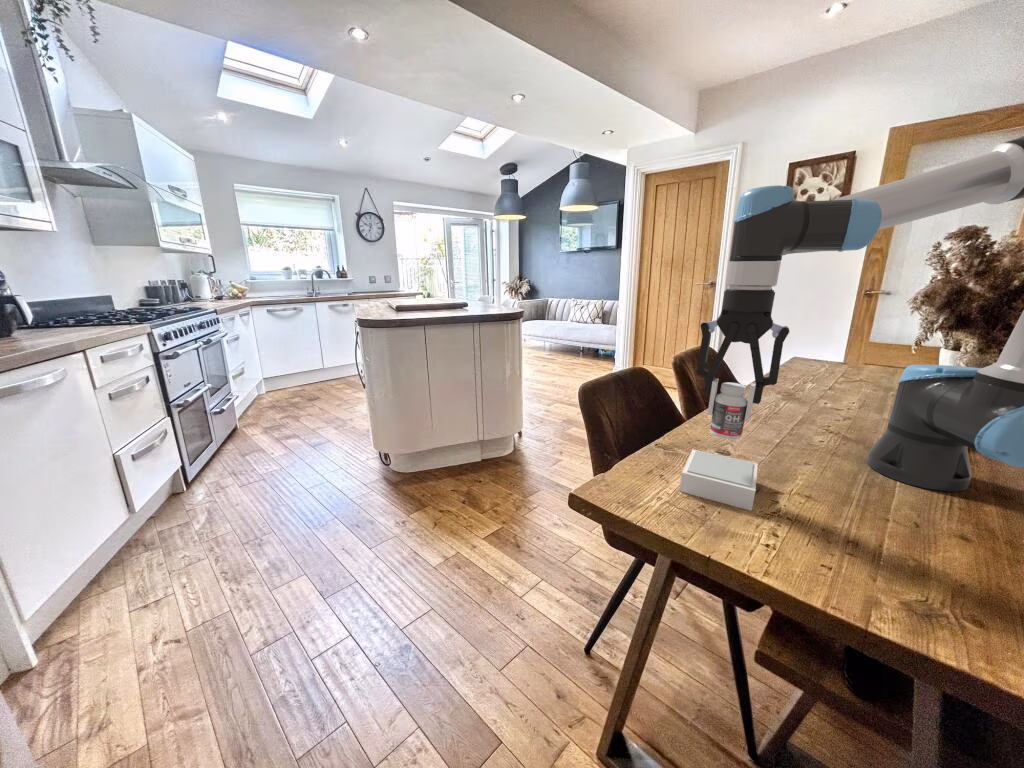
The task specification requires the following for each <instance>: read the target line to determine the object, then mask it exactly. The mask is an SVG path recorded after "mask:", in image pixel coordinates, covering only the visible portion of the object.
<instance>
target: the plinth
mask: <svg viewBox="0 0 1024 768" xmlns="http://www.w3.org/2000/svg"><path fill="white" fill-rule="evenodd" d="M758 468H759V467H758V463H757V462H753V461H748V460H744V459H739V458H735V457H730V456H729V457H728V456H725V455H722V454H721V455H720V454H716V453H711V452H707V451H702V450H697V449H693V448H692V449H691V452H690V454H689V456H688V459H687V461H686V463H685V465H684V467H683V469H682V471H681V477H680V485H679V492H681V493H685V494H688V495H693V496H696V497H699V498H702V499H706V500H711V501H713V502H718V503H722V504H724V505H728V506H731V507H732V506H733V507H737V508H740V509H742V510H743V509H744V510H747V511H752V510H753V505H754V500H755V497H756V496H755V495H756V491H757V490H756V488H757V477H758Z"/></svg>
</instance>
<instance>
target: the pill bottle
mask: <svg viewBox="0 0 1024 768" xmlns="http://www.w3.org/2000/svg"><path fill="white" fill-rule="evenodd" d="M719 391H720V393H718V394H716V397H715V401H714V408H713V414H712V415H711V421H710V427H709V432H710V434H712V435H713V436H715V437H717V438H720V439H724V440H738V439H740V438H741V437H742V434H743V430H744V425H745V421H744V420H745V414H746V409H747V403H748V398H746V397H745V396H744V395H745V394H746V393H747V392H746V391H747V387H746V385H744V384H742V383H739V382H728V381H727V382H722V383H721V386H720V389H719Z"/></svg>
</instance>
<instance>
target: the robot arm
mask: <svg viewBox="0 0 1024 768" xmlns="http://www.w3.org/2000/svg"><path fill="white" fill-rule="evenodd" d="M794 192H795V191H794V188H793V187H792V186H789V185H766V186H758V187H753V188H750V189H747V190H746V191H744V192H743V193H742V194H741V195H740V196H739V198H738V199H739V200H738V202H737V203H738V204H737V207H736V211H735V217H734V219H733V232H732V238H731V239H732V240H731V247H730V252H729V253H730V254H729V255H730V256H729V260H728V264H727V272H726V279H725V286H728V288H726V289H725V290H724V291H723V298H722V304H721V305H722V306H721V311H720V314H719V316H718V317H717V319H715V320H711V321H705V320H704V321H703V322H702V323H700V331H701V336H702V337H701V343H700V347H699V354H698V360H697V364H696V365H697V366H696V372H695V374H696V375H697V376H699V377H702V378H704V379H705V384H704V392H703V394H704V396H705V397H709V401H708V409H707V415H709V416H712V414H713V408H714V401H715V397H716V396H717V392H718V385H719V378H716V374H717V372H718V370H719V368H720V365H721V364H722V362H723V361H724V358H725V355H726V354H727V352H728V349H729V348H730V345H731V343H744V344H748V345H749V347H750V348H749V349H750V354H751V361H752V367H753V374H754V380H755V383H753V382H750V387H749V392H748V398H747V401H748V403H747V409H746V414H745V420H744V422H748V423H749V422H750V419H751V414H752V413H751V412H752V409H753V404H756V405H760V403H761V402H762V397H763V396H762V395H763V390H764V388H765V387H767V386H775V385H776V384H777V383H778V377H779V372H780V367H781V366H780V365H781V361H782V360H781V359H782V352H783V346H784V342H785V340H786V339H787V337H788V336H789V334H790V328H789V326H786V325H783V326H782V325H779V324H777V323H774V320H773V318H772V313H773V306H774V300H775V296H776V295H775V294H776V291H775V290H774V289H773V287H776V286H777V285H778V280H779V273H780V268H781V263H782V259H783V256H786V255H791V254H802V253H804V254H805V253H816V252H839V253H841V252H844V251H848V252H849V251H859V250H862V249H864V248H865V247H867V246H868V245H869V244H870V243H871V242H872V241H873V240H874V238H875V237H876V236H877V234H878V232H879V230H884V229H888V228H891V227H895V226H898V225H902V224H905V223H906V224H907V223H910V222H913V221H919V220H921V219H924V218H925V219H926V218H928V217H932V216H936V215H940V214H943V213H947V212H950V211H955V210H958V209H962V208H966V207H970V206H974V205H977V204H981V203H985V204H987V205H999V204H1005V203H1008V202H1010V201H1011V202H1012V201H1015V200H1020V199H1021V200H1022V199H1024V135H1023V136H1022V135H1021V136H1020V137H1016V138H1014V139H1012V140H1007V141H1005V142H1002V143H1001V142H1000V143H999V144H995V145H993V146H991V147H990V148H988V149H987V150H985V151H984V152H983V153H982V154H981V155H979V156H976V157H973V158H969V159H966V160H961V161H959V162H956V163H952V164H949V165H946V166H942V167H939V168H936V169H935V168H934V169H932V170H928V171H924V172H922V173H918V174H915V175H911V176H908V177H905V178H903V179H902V178H901V179H899V180H894V181H892V182H889V183H884V184H882V185H878V186H874V187H871V188H868V189H864V190H861V191H858V192H855V193H851V194H848V195H843V196H841V197H837V198H834V199H831V200H830V199H829V200H806V201H804V200H801V201H800V200H795V196H794ZM716 327H718V328H719V330H720V332H721V333H722V335H723V336H724V338H723V341H722V342H721V345H720V347H719V349H718V351H717V354H716V356H715V357H714V359H713V362H712V363H711V366H710V368H709V369H707V368H706V367H707V362H708V356H709V351H710V346H711V345H710V344H711V340H712V334H713V333H714V332H715V331H716ZM769 330H771V332H772V333H771V335H772V338H774V341H773V342H774V343H773V349H772V356H771V361H770V367H769V368H770V369H769V374H768V376H764V369H763V363H762V355H761V349H760V342H759V339H761V338H762V337H763V336H764V335H765V334H766V333H768V332H769ZM897 384H898V387H897V390H896V394H895V396H894V402H893V404H892V408H891V412H890V415H889V419H888V422H887V427H886V429H885V432H883V433H882V435H881V436H880V438H878V440H877V441H876V442H875V443H874V444H873V446H872V447H871V448H870V449H869V451H868V454H867V458H866V464H867V465H868V466H869V467H870V469H872V470H874V471H875V472H877V473H879V474H881V475H883V476H885V477H888V478H890V479H893V480H895V481H898V482H900V483H904V484H908V485H911V486H915V487H919V488H923V489H928V490H932V491H933V490H934V491H938V492H939V491H940V492H942V491H943V492H962V491H965V490H968V488H969V485H970V483H971V480H972V471H971V465H970V457H969V452H968V448H969V449H972V450H973V451H976V452H978V453H979V454H980V455H982V456H983V457H986V458H987V459H990V460H996V461H998V462H1000V463H1003V464H1006V465H1008V466H1012V467H1015V468H1021V469H1024V309H1023V310H1022V312H1021V314H1020V316H1019V318H1018V320H1017V322H1016V324H1015V326H1014V328H1013V330H1012V331H1011V334H1010V336H1009V338H1008V339H1007V341H1006V343H1005V345H1004V347H1003V349H1002V351H1001V353H1000V354H999V357H998V358H997V361H996V362H994V363H992V364H990V365H988V366H984V367H982V368H981V367H974V366H973V367H972V366H961V365H948V364H947V365H942V364H921V363H920V364H911V365H908V366H907V367H906V368H904V370H903V372H902V374H901V377H900V379H899V380H898V383H897Z"/></svg>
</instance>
